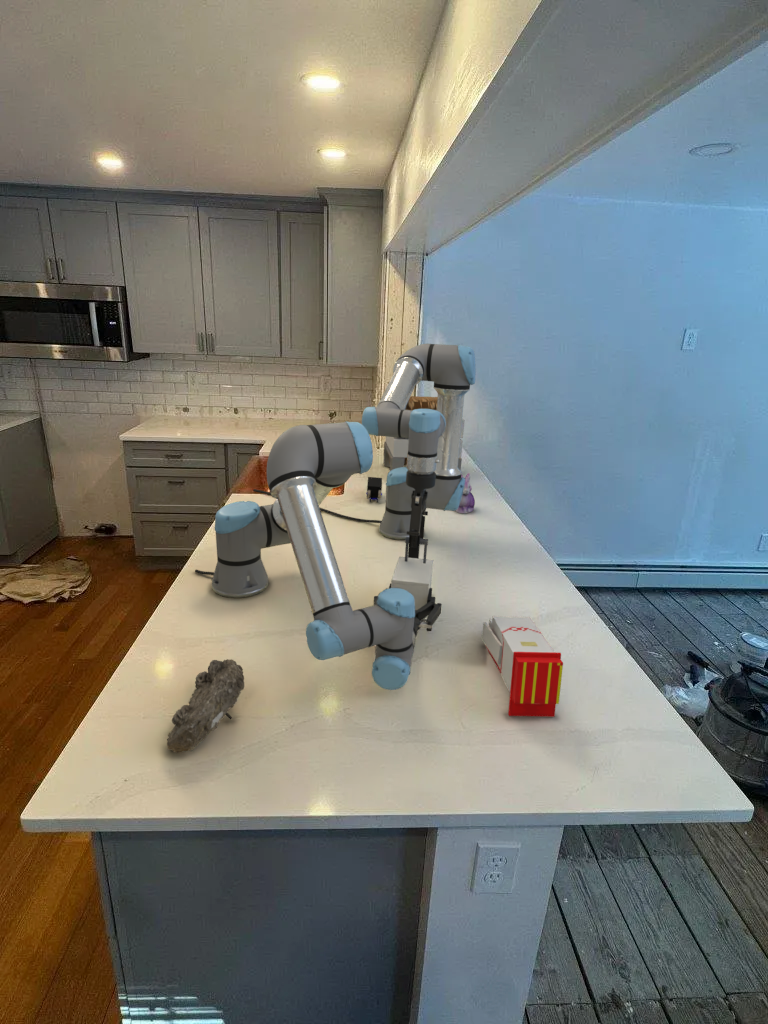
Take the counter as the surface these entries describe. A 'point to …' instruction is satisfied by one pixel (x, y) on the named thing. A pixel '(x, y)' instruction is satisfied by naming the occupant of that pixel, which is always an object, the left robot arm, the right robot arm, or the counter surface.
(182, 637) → the counter surface
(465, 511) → the figurine
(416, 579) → the lid
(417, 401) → the transformer
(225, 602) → the counter surface
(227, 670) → the fossil
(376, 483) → the figurine character
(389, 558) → the counter surface
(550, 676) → the toy
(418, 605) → the white cabinet body
